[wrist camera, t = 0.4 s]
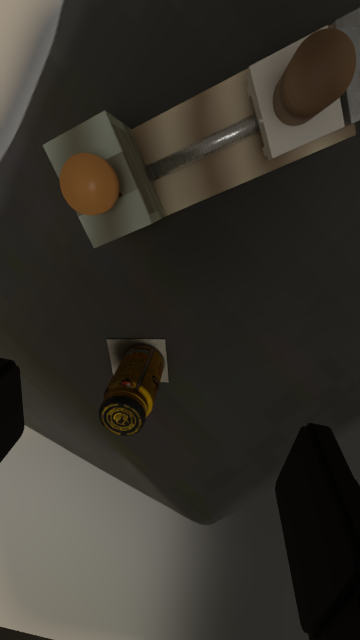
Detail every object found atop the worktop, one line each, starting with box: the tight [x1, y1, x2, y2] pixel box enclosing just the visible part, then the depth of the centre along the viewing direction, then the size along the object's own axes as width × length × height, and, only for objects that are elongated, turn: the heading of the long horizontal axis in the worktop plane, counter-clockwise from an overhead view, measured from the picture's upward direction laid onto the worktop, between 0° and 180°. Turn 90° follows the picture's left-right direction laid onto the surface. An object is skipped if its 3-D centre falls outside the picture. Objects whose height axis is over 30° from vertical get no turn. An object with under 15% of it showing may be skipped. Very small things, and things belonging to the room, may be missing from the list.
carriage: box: [246, 25, 356, 161], centre depth 23 cm, size 6×7×10 cm
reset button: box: [60, 153, 120, 215], centre depth 24 cm, size 4×4×3 cm
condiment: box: [99, 339, 169, 436], centre depth 38 cm, size 7×8×12 cm
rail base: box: [43, 8, 360, 248], centre depth 27 cm, size 26×9×10 cm, turn 112°
